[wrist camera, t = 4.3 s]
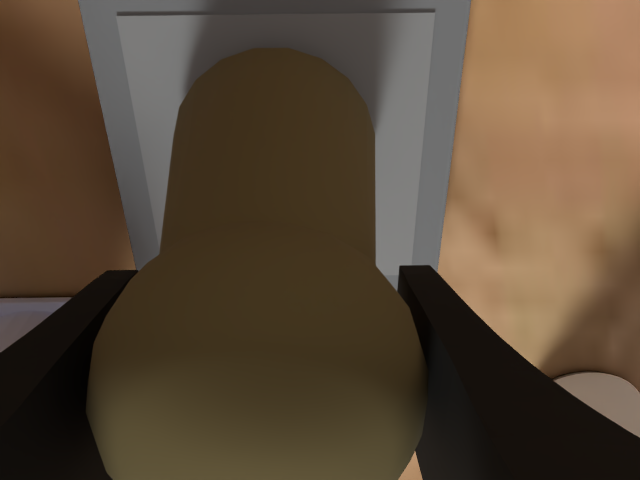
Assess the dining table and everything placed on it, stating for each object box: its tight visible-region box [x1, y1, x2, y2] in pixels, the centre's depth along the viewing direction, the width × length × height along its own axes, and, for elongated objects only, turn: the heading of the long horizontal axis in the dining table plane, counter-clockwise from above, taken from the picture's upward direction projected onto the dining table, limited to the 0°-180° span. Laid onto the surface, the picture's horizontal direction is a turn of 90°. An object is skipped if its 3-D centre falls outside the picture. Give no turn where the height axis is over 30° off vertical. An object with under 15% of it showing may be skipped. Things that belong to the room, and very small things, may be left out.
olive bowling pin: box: [86, 48, 429, 480], centre depth 12 cm, size 6×6×11 cm
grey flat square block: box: [78, 0, 471, 291], centre depth 19 cm, size 11×11×3 cm
